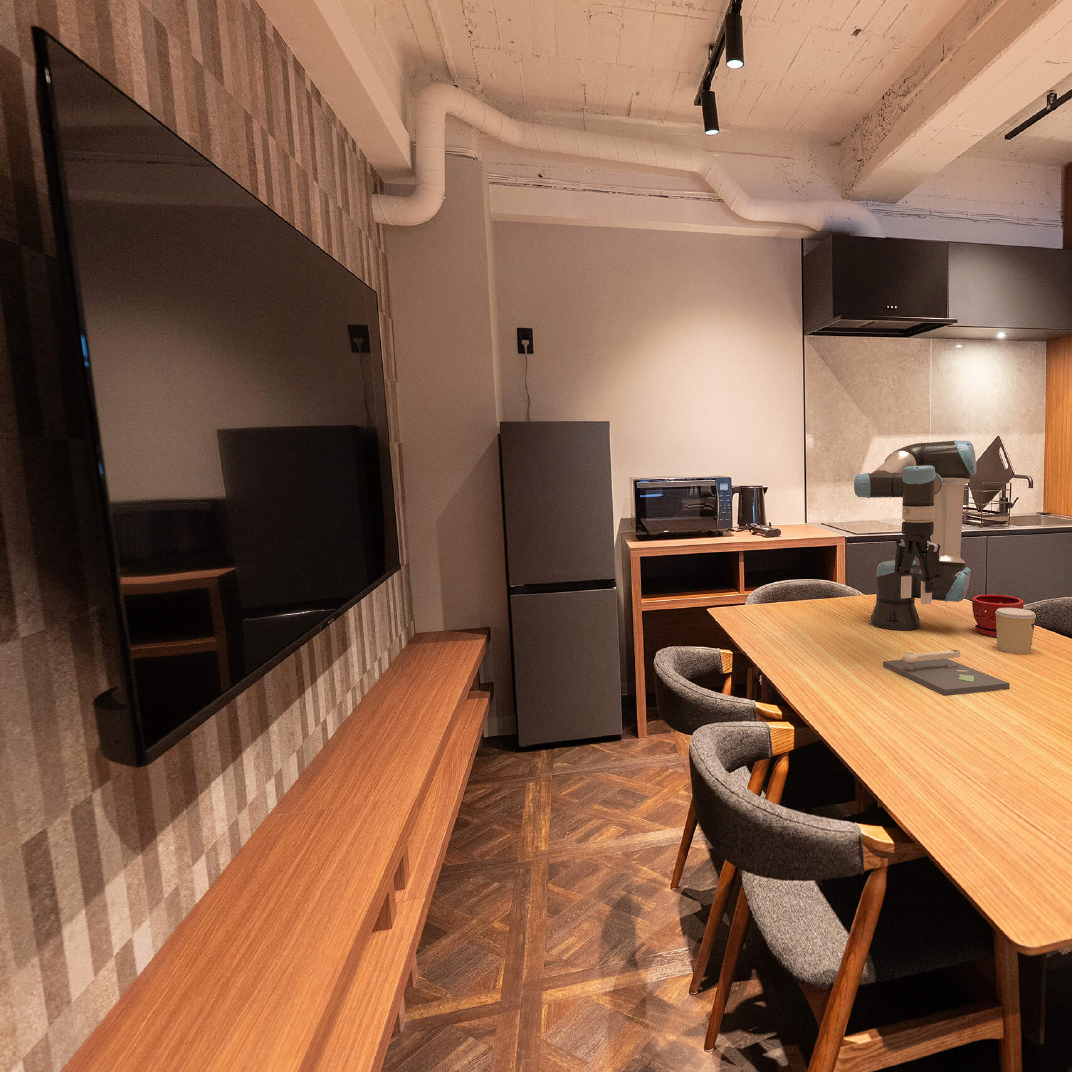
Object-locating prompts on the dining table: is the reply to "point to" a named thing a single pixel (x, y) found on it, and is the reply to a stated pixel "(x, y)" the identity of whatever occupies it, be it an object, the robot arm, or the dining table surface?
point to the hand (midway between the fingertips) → (915, 600)
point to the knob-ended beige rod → (930, 655)
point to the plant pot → (991, 611)
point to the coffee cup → (1015, 630)
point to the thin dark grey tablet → (946, 676)
